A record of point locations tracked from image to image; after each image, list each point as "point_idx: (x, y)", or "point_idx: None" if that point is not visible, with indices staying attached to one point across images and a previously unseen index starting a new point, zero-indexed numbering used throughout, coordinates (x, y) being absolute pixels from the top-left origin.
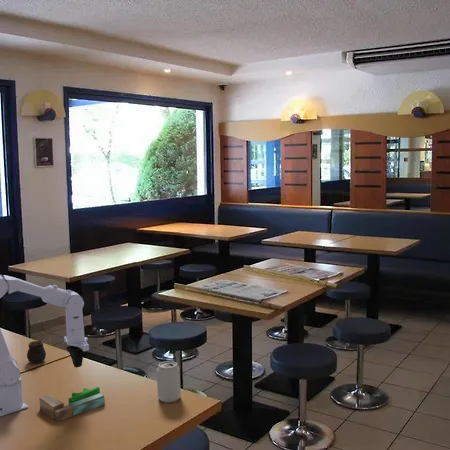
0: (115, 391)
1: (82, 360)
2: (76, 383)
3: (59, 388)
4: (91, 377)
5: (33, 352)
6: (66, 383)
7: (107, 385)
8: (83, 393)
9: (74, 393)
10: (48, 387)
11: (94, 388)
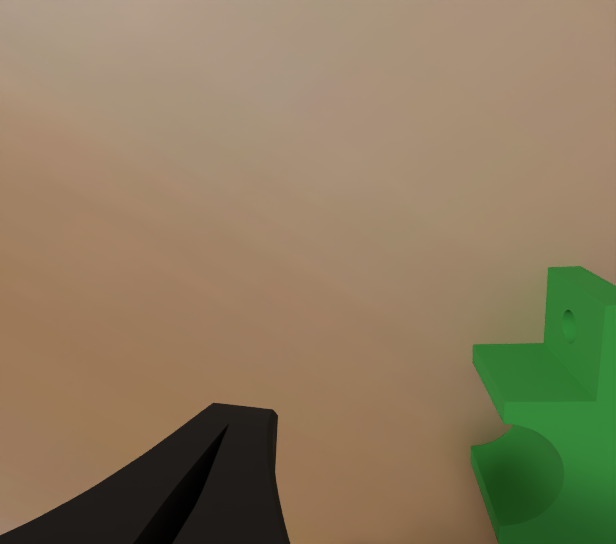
0: (546, 45)
1: (269, 455)
2: (79, 201)
3: (82, 350)
4: (38, 16)
5: None
6: (21, 259)
7: (345, 15)
8: (611, 488)
9: (528, 535)
10: (6, 391)
11: (609, 350)
